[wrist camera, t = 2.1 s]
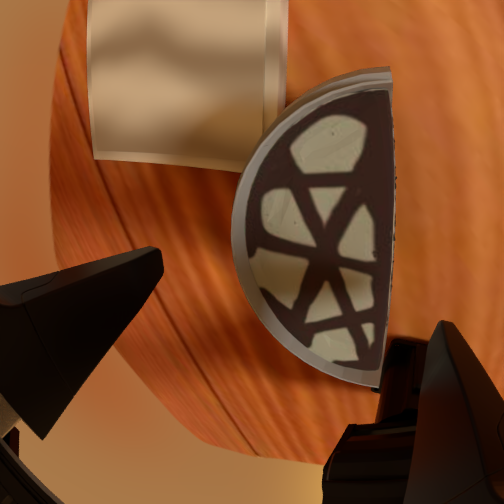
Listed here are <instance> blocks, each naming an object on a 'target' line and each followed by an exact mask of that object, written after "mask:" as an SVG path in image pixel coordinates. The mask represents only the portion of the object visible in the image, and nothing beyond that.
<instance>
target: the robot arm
mask: <svg viewBox="0 0 504 504" xmlns="http://www.w3.org/2000/svg"><path fill="white" fill-rule="evenodd" d="M163 273H164V266H163V259H162V253H161V250H160V249H159V248H155V247H152V246H148V247H144V248H140V249H137V250H133V251H129V252H125V253H122V254H118V255H114V256H111V257H107V258H103V259H100V260H96V261H92V262H89V263H85V264H81V265H78V266H74V267H71V268H67V269H64V270H61V271H60V272H59V271H57V272H53V273H50V274H46V275H42V276H39V277H35V278H31V279H27V280H23V281H18V282H14V283H10V284H6V285H2V286H0V504H64V503H63V502H62V501H61V500H60V499H59V498H58V497H57V496H55V495H54V494H53V493H52V492H51V491H50V490H49V489H48V488H47V487H46V486H45V485H44V484H43V483H42V482H41V481H40V480H39V479H38V478H37V477H36V476H35V475H34V474H33V473H32V472H31V471H30V470H29V469H28V468H27V467H26V466H25V465H24V464H23V462H22V461H21V460H20V459H19V430H18V429H17V428H16V427H15V425H16V424H17V423H18V422H19V421H20V420H21V419H22V420H23V422H24V423H25V424H26V425H27V426H28V427H29V428H30V429H31V430H32V431H33V432H34V433H35V434H36V435H37V436H38V437H39V438H40V439H41V440H43V439H44V438H45V437H46V436H47V434H48V433H49V431H50V430H51V429H52V427H53V426H54V424H55V423H56V421H57V420H58V418H59V417H60V416H61V414H62V413H63V412H64V410H65V409H66V407H67V406H68V404H69V403H70V402H71V400H72V399H73V397H74V396H75V395H76V393H77V392H78V390H79V389H80V388H81V386H82V385H83V384H84V382H85V381H86V380H87V378H88V377H89V375H90V374H91V373H92V372H93V370H94V369H95V367H96V366H97V365H98V363H99V362H100V361H101V359H102V358H103V357H104V356H105V354H106V353H107V352H108V350H109V349H110V348H111V346H112V345H113V344H114V343H115V341H116V340H117V339H118V337H119V336H120V335H121V334H122V332H123V331H124V330H125V328H126V327H127V326H128V325H129V323H130V322H131V321H132V320H133V318H134V317H135V316H136V314H137V313H138V312H139V311H140V309H141V308H142V306H143V305H144V304H145V302H146V300H147V299H148V297H149V296H150V294H151V293H152V291H153V290H154V288H155V287H156V285H157V284H158V282H159V281H160V279H161V277H162V276H163ZM395 345H399V346H395ZM371 390H372V391H373V392H375V393H380V399H379V404H378V409H377V414H376V419H375V423H373V424H361V425H357V424H349V425H348V426H347V428H346V430H345V432H344V433H343V435H342V437H341V439H340V440H339V442H338V444H337V445H336V447H335V449H334V451H333V452H332V454H331V455H330V457H329V459H328V461H327V462H326V464H325V466H324V468H323V477H322V490H323V501H322V504H504V401H503V399H502V397H501V395H500V394H499V392H498V390H497V389H496V387H495V385H494V384H493V382H492V380H491V379H490V377H489V376H488V374H487V372H486V371H485V369H484V368H483V366H482V365H481V363H480V361H479V360H478V358H477V357H476V355H475V354H474V352H473V351H472V349H471V348H470V346H469V345H468V343H467V342H466V340H465V339H464V338H463V336H462V335H461V333H460V332H459V330H458V329H457V328H456V326H455V325H454V324H453V323H452V322H449V321H444V320H441V321H439V322H438V324H437V326H436V328H435V330H434V332H433V334H432V337H431V339H430V341H429V343H428V345H424V344H419V343H414V342H410V341H405V340H401V339H394V340H393V341H392V342H391V344H390V346H389V349H388V351H387V353H386V356H385V358H384V360H383V365H382V372H381V377H380V383H379V388H375V387H371Z"/></svg>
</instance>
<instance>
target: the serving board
mask: <svg viewBox="0 0 504 504" xmlns="http://www.w3.org/2000/svg"><path fill="white" fill-rule="evenodd" d="M287 40H288V0H88V16H87V81H88V100H89V114H90V126H91V136H92V145H93V154H94V159H102V160H119V161H134V162H147V163H159V164H170V165H180V166H190V167H199V168H208V169H216V170H224V171H232V172H239V173H242V170H243V168H244V165H245V163H246V160H247V158H248V156H249V155H250V153H251V152H252V150H253V148H254V147H255V145H256V144H257V142H258V140H259V139H260V137H261V136H262V134H263V133H264V132H265V131H266V130H267V128H268V127H269V126H270V125H271V124H272V123H273V121H274V120H275V119H276V118H277V117H278V116H279V115H280V114H281V113H282V112H283V110H284V109H285V101H286V74H287Z"/></svg>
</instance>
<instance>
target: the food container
mask: <svg viewBox="0 0 504 504" xmlns="http://www.w3.org/2000/svg"><path fill="white" fill-rule="evenodd" d="M392 91H393V80H392V76H391V70H390V67H389V66H387V67H376V68H367V69H361V70H357V71H353V72H350V73H347V74H343V75H340V76H337V77H333V78H331V79H329V80H327V81H325V82H323V83H321V84H320V85H318V86H316V87H314V88H312V89H310V90H308V91H307V92H305V93H304V94H303V95H302V96H300V97H299V98H298V99H296V100H295V101H294V102H292V103H291V104H290V105H288V106H287V107H286V108H285V109H284V110H283V112H282V113H281V114H280V115H279V116H278V117H277V118H276V119H275V120H274V121H273V123H272V124H271V125H270V126H269V127H268V128H267V130H266V131H265V132H264V133H263V134H262V136H261V137H260V139H259V140H258V142H257V144H256V145H255V147H254V148H253V150H252V152H251V153H250V155H249V156H248V158H247V160H246V163H245V165H244V168H243V170H242V173H241V175H240V178H239V180H238V184H237V188H236V193H235V198H234V202H233V211H232V220H231V245H232V253H233V261H234V265H235V268H236V272H237V275H238V279H239V282H240V285H241V287H242V289H243V291H244V293H245V296H246V298H247V300H248V302H249V304H250V305H251V307H252V309H253V310H254V312H255V313H256V315H257V317H258V318H259V320H260V321H261V322H262V323H263V325H264V326H265V327H266V328H267V329H268V331H269V332H270V333H271V334H272V335H273V336H274V337H275V338H276V339H277V340H278V341H279V342H280V343H281V344H282V345H283V346H284V347H285V348H286V349H288V350H289V351H290V352H292V353H293V354H294V355H296V356H297V357H298V358H300V359H301V360H303V361H304V362H306V363H307V364H309V365H311V366H313V367H314V368H316V369H318V370H320V371H322V372H324V373H326V374H329V375H331V376H334V377H336V378H338V379H341V380H344V381H348V382H351V383H355V384H359V385H363V386H369V387H375V388H379V383H380V377H381V372H382V365H383V359H384V352H385V345H386V337H387V329H388V321H389V311H390V301H391V289H392V276H393V262H394V261H393V258H394V241H395V224H396V220H395V217H396V216H395V202H396V183H395V180H396V179H397V177H395V168H396V166H395V145H394V143H395V140H394V130H393V128H394V125H393V116H392Z"/></svg>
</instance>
